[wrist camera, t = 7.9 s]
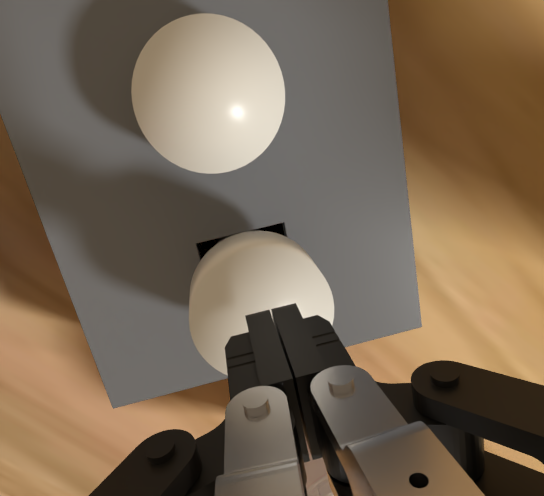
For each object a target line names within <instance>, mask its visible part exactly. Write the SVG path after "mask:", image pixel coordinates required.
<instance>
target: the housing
mask: <svg viewBox="0 0 544 496" xmlns="http://www.w3.org/2000/svg"><path fill="white" fill-rule="evenodd" d="M200 13H209V14H218V15H223V16H226V17H230V18H233V19H235V20H237V21H239V22H241V23H243V24H245V25H246V26H248V27H249V28H251V29H252V30H253V31H254V32H256V33H257V34H258V35H259V36H260V37H261V38H262V39H263V40H264V41H265V42H266V44H267V45H268V46H269V48H270V49H271V51H272V52H273V54H274V56H275V58H276V60H277V61H278V64H279V67H280V69H281V72H282V76H283V80H284V87H285V107H284V114H283V117H282V121H281V124H280V127H279V129H278V132H277V133H276V135H275V137H274V139H273V140H272V142H271V143H270V145H269V146H268V147H267V148H266V149H265V150H264V152H263V153H262V154H261V155H259V156H258V157H257V158H256V159H255V160H253V161H252V162H250V163H248V164H247V165H245V166H243V167H241V168H238V169H236V170H233V171H229V172H224V173H217V174H206V173H198V172H194V171H190V170H187V169H184V168H182V167H179V166H177V165H175V164H174V163H172V162H170V161H169V160H167V159H166V158H164V157H163V156H162V155H161V154H160V153H159V152H158V151H156V150H155V148H154V147H153V146H152V145H151V144H150V143H149V141H148V140H147V138H146V137H145V135H144V134H143V132H142V130H141V128H140V126H139V124H138V122H137V119H136V116H135V113H134V109H133V104H132V94H131V88H132V77H133V71H134V68H135V65H136V62H137V59H138V57H139V55H140V53H141V51H142V49H143V48H144V46H145V45H146V43H147V42H148V41H149V39H150V38H151V37H152V36H153V35H154V34H155V33H156V32H157V31H158V30H160V29H161V28H162V27H163V26H165V25H167V24H168V23H170V22H172V21H174V20H176V19H178V18H181V17H184V16H188V15H192V14H200ZM0 114H1V117H2V120H3V122H4V125H5V127H6V130H7V133H8V135H9V138H10V140H11V143H12V146H13V148H14V151H15V153H16V156H17V159H18V161H19V164H20V167H21V169H22V172H23V174H24V177H25V180H26V182H27V185H28V187H29V190H30V193H31V195H32V198H33V201H34V203H35V206H36V208H37V211H38V214H39V216H40V219H41V221H42V224H43V227H44V229H45V232H46V235H47V237H48V240H49V242H50V245H51V248H52V250H53V253H54V255H55V258H56V261H57V263H58V266H59V269H60V271H61V274H62V276H63V279H64V282H65V284H66V287H67V289H68V292H69V295H70V297H71V300H72V303H73V305H74V308H75V310H76V313H77V316H78V318H79V321H80V323H81V326H82V329H83V331H84V334H85V337H86V339H87V342H88V344H89V347H90V350H91V352H92V355H93V357H94V360H95V363H96V365H97V368H98V371H99V373H100V376H101V378H102V381H103V384H104V386H105V389H106V391H107V394H108V397H109V399H110V402H111V405H112V407H113V408H117V407H121V406H125V405H128V404H132V403H136V402H140V401H144V400H147V399H151V398H155V397H159V396H162V395H166V394H170V393H174V392H178V391H181V390H185V389H189V388H193V387H196V386H200V385H204V384H208V383H212V382H215V381H219V380H223V379H227V378H228V375H225V374H223V373H221V372H220V371H218V370H216V369H215V368H214V367H212V366H211V365H210V364H209V363H208V362H207V361H206V360H205V359H204V358H203V357H202V356H201V354H200V353H199V352H198V350H197V348H196V346H195V344H194V342H193V339H192V337H191V332H190V328H189V298H190V285H191V280H192V277H193V274H194V271H195V269H196V267H197V265H198V264H199V262H200V261H201V256H200V252H199V249H198V245H197V243H200V242H204V241H208V240H212V239H217V238H221V237H225V236H229V235H233V234H237V233H242V232H246V231H250V230H254V229H258V228H262V227H267V226H271V225H275V224H279V223H282V225H283V230H284V235H285V236H286V237H288V238H289V239H291V240H293V241H294V242H296V243H297V244H299V245H300V246H301V247H302V248H303V249H304V250H305V251H306V252H307V254H308V255H309V256H310V257H311V259H312V260H313V262H314V263H315V264H316V266H317V267H318V269H319V270H320V272H321V273H322V274H323V276H324V277H325V279H326V281H327V282H328V284H329V287H330V289H331V292H332V296H333V300H334V320H333V325H332V327H333V329H334V330H335V333H336V334H337V335H338V337H339V339H340V341H341V342H342V344H343V346H344V347H348V346H351V345H355V344H359V343H363V342H367V341H370V340H374V339H378V338H382V337H385V336H389V335H393V334H397V333H401V332H404V331H408V330H412V329H416V328H419V327H422V324H421V314H420V305H419V295H418V285H417V276H416V266H415V257H414V247H413V238H412V228H411V218H410V209H409V199H408V190H407V180H406V170H405V161H404V151H403V142H402V132H401V123H400V113H399V103H398V94H397V84H396V75H395V65H394V55H393V46H392V36H391V27H390V17H389V8H388V0H0Z"/></svg>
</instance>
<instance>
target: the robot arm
mask: <svg viewBox="0 0 544 496" xmlns="http://www.w3.org/2000/svg"><path fill="white" fill-rule="evenodd" d="M271 311H272V316H271V313H270V310H265V311H261V312H257V313H253V314H249V315H245V317H246V322H247V326H248V331H249V332H247V333H243V334H239V335H235V336H231V337H230V339H229V341H228V343H227V344H226V346H225V355H226V364H227V373H228V383H229V392H230V402H229V403H228V405H227V407H226V412H225V420H224V421H223V422H222V423H221V424H220V425H219V426H218V427H216V428H215V429H214V430H212V431H210V432H209V433H207V434H205V435H203V436H201V437H199V438H197V439H194V437H193V436H192V435H191V434H190V433H189V432H187V431H184V430H178V429H173V430H166V431H162V432H159V433H157V434H155V435H152V436H151V437H149V438H147V439H146V440H144V441H143V442H142V443H141V444H140V445H138V446H137V447H136V448H135V449H134V450H133V451H132V452H131V453H130V454H129V455H128V456H127V457H126V458H125V460H124V461H123V462H122V463H121V464H120V465H119V466H118V467H117V468H116V469H115V470H114V471H113V472H112V473H111V474H110V475H109V476H108V477H107V478H106V479H105V480H104V481H103V482H102V483H101V484H100V485H99V486H98V487H97V488H96V489H95V490H94V491H93V492H92V493H91V494H90V495H89V496H308V493H307V488H306V482H307V475H306V470H305V465H304V463H305V462H308V461H310V458H309V453H308V449H307V444H308V447H309V450H310V453H311V456H312V459H313V460H315V459H319V458H322V457H323V460H324V463H325V466H326V471H327V476H328V481H329V485H330V488H331V490H332V493H333V495H334V496H544V474H543V473H541V472H538V471H536V470H533V469H531V468H528V467H525V466H523V465H520V464H518V463H515V462H513V461H510V460H507V459H505V458H502V457H500V456H497V455H494V454H492V453H489V452H487V451H484V439H487V440H490V441H492V442H495V443H498V444H500V445H503V446H506V447H509V448H511V449H514V450H517V451H519V452H522V453H525V454H527V455H530V456H532V457H534V458H536V459H538V460H539V461H541V462H542V463H543V464H544V386H543V385H539V384H536V383H532V382H528V381H525V380H521V379H517V378H514V377H510V376H506V375H503V374H499V373H495V372H491V371H488V370H484V369H480V368H477V367H473V366H469V365H466V364H462V363H458V362H454V361H433V362H429V363H426V364H423V365H421V366H420V367H418V368H417V369H416V370H415V371H414V372H413V374H412V376H411V383H399V384H387V383H380V382H376V381H374V379H373V378H372V377H371V376H370V374H369V373H368V372H366V371H365V370H364V369H361V368H359V367H356V366H355V364H354V363H353V361H352V359H351V358H350V356H349V354H348V352H347V351H346V349H345V347H344V346H343V344H342V342H341V341H340V339H339V337H338V335H337V334H336V333H335V330H334V329H333V327H332V325H331V323H330V322H329V321H328V320H326V319H324V318H322V317H320V316H319V315H315V316H311V317H307V318H303V317H302V315H301V313H300V311H299V309H298V307H297V305H296V303H294V304H290V305H286V306H281V307H277V308H273V309H271ZM272 317H273V319H272ZM273 321H274V322H273ZM305 437H306V439H305ZM306 440H307V444H306Z"/></svg>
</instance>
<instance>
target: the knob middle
mask: <svg viewBox="0 0 544 496" xmlns="http://www.w3.org/2000/svg"><path fill="white" fill-rule="evenodd" d="M131 94H132V104H133V109H134V113H135V116H136V119H137V122H138V124H139V126H140V128H141V130H142V132H143V134H144V135H145V137H146V138H147V140H148V141H149V143H150V144H151V145H152V146H153V147H154V148H155V150H156V151H158V152H159V153H160V154H161V155H162V156H163V157H164V158H166V159H167V160H169V161H170V162H172V163H174V164H175V165H177V166H179V167H182V168H184V169H187V170H190V171H194V172H198V173H206V174H217V173H224V172H229V171H233V170H236V169H238V168H241V167H243V166H245V165H247V164H248V163H250V162H252V161H253V160H255V159H256V158H257V157H258V156H259V155H261V154H262V153H263V152H264V150H265V149H266V148H267V147H268V146H269V145H270V143H271V142H272V140H273V139H274V137H275V135H276V133H277V132H278V129H279V127H280V124H281V121H282V117H283V114H284V107H285V87H284V80H283V76H282V72H281V69H280V67H279V64H278V61H277V60H276V58H275V56H274V54H273V52H272V51H271V49H270V48H269V46H268V45H267V44H266V42H265V41H264V40H263V39H262V38H261V37H260V36H259V35H258V34H257V33H256V32H254V31H253V30H252V29H251V28H249V27H248V26H246V25H245V24H243V23H241V22H239V21H237V20H235V19H233V18H230V17H226V16H223V15H218V14H209V13H200V14H192V15H188V16H184V17H181V18H178V19H176V20H174V21H172V22H170V23H168V24H167V25H165V26H163V27H162V28H161V29H160V30H158V31H157V32H156V33H155V34H154V35H153V36H152V37H151V38H150V39H149V41H148V42H147V43H146V45H145V46H144V48H143V49H142V51H141V53H140V55H139V57H138V59H137V62H136V65H135V68H134V71H133V77H132V88H131Z"/></svg>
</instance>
